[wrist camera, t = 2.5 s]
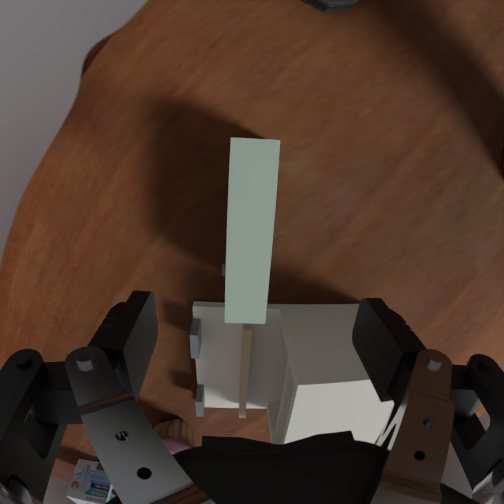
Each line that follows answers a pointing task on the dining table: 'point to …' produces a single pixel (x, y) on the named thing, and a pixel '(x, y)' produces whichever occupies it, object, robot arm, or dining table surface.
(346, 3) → the zipper pull
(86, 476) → the light bulb box
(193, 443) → the cupcake
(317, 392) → the cabinet
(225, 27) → the dining table surface
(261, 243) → the door
